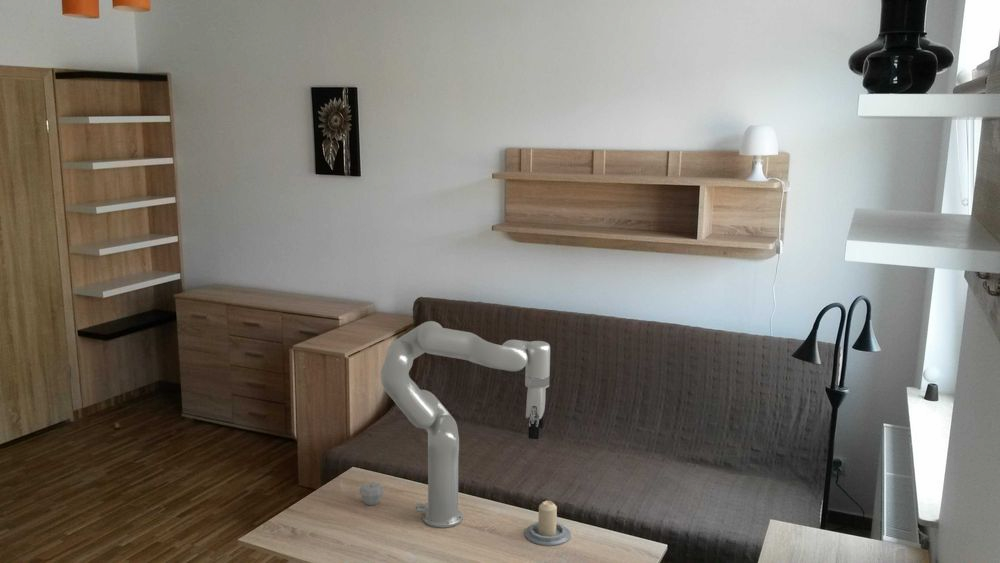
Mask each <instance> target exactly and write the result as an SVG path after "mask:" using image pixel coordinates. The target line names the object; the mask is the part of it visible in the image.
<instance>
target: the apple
mask: <svg viewBox="0 0 1000 563" xmlns="http://www.w3.org/2000/svg"><path fill="white" fill-rule="evenodd" d="M359 493H360V497H361V499H362V501H363V503H364V504H365V505H367V506H374V505H376V504H378V503H380V501H381V499H382V497H383V494H384V489H383V487H382V485H381V483H379V482H375V481H374V482H372V481H371V482H365V483H364V484H362V485H361V486H360V488H359Z"/></svg>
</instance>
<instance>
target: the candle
mask: <svg viewBox="0 0 1000 563" xmlns="http://www.w3.org/2000/svg"><path fill="white" fill-rule="evenodd" d="M557 512H558V506H557V505H556V504H555V503H554V502H553V501H551V500H545V501H542V502H541V503H540V504H539V505H538V521H537V522H538V533H539V534H540V535H541V536H549V537H550V536H554V535H555V534H556V522H558V521H557V518H558V514H557Z"/></svg>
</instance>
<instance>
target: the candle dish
mask: <svg viewBox="0 0 1000 563" xmlns="http://www.w3.org/2000/svg"><path fill="white" fill-rule="evenodd" d="M524 536H525V538H526V539H527V540H528V541H529V542H531V543H532V544H535V545H539V546H545V547H555V546H560V545H563V544H565V543H567V542H569V541H570V540H571V530H569V528H567V527H566V526H564V525H563V524H561V523H559V522H558V521H556V534H555V535H554V536H550V537H549V536H541V535H540V534H539V533H538V521H536V522H534V523H533V524H530V525H529V526H527V527H526V528H525V531H524Z"/></svg>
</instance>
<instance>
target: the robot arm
mask: <svg viewBox="0 0 1000 563" xmlns="http://www.w3.org/2000/svg"><path fill="white" fill-rule="evenodd" d="M425 353H426V354H429V355H434V356H440V357H448V358H453V359H459V360H464V361H468V362H470V363H473V364H478V365H480V366H483V367H486V368H491V369H495V370H502V371H508V372H518V371H521V370H523V369H524V368H525V376H524V377H525V379H524V385H525V387H526V388H527V392H526V403H525V404H526V408H525V418H526V419H529V423H528V434H527V435H528V439H529V440H531V439H532V440H539V438H540V429H544V419H545V418H544V417H545V416H544V413H545V411H546V410H545V409H546V389H547V388H549V387H550V374H551V373H550V371H551V370H550V369H551V368H550V367H551V346H550V344H549V342H547V341H543V340H532V341H528V340H521V339H520V340H518V339H509V340H506V341H505V342H503V343H502V344H496V343H493V342H490V341H487V340H486V339H483V338H481V337H480V336H479V335H477V334H475V333H473V332H470V331H464V330H459V329H458V330H457V329H453V328H446V327H443V326H442V325H441V324H440V323H439V322H437V321H433V320H430V321H424V322H423V323H421V324H419V325H417V326H416V327H414V328H413V329H411V330H409V331H408V332H407V333H405V334H403V335H401V336H400V337H398V338H397V339H395V340H393V341H392V342H391V343H390V344H389V346H388V347H387V349H386V355H385V358H384V361H383V364H382V366H381V370H380V382H381V385H382V388H383V389H384V391H385V393H387V394H388V396H389V397H390V398H391V400H393V402H394V403H395V404H396V406H397V407H398V408H399V410H400V411H401V412H402V413H403V414H404V416H405V417H406V418H407V420H408V421H409V423H411V424H412V426H415V428H418V429H422V430H423V429H424V430H425V431H426V432H427V497H428V499H427V502H425V503H421V502H416V503H415V506H414V508H415V510H416V512H417V513H423V516H422V520H423V522H424V523H425V524H426V525H427V526H430V527H434V528H442V529H444V528H452V527H455V526H457V525H460V524H461V522H462V521H463V519H464V518H463V517H464V515H463V513H462V512H461V510H459V456H460V436H459V430H458V424H457V421H456V420H455V418H454V417H453V416H452V415H451V413H450V412H449V411H448V410H447V408H446V407H445V406H444V405H443V404H442V403H441V401H440V400H439V399H438V398H437V397H436V395H434V393H432V392H431V391H429V390H426V389H420V388H419V386H418V385H417V383H416V382H415V381H413V379H412V378H411V377H410V374H409V373H410V371H411V369H412V367H413V363H414V360H415V359H417V358H418V357H420V356H421V355H423V354H425Z"/></svg>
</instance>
